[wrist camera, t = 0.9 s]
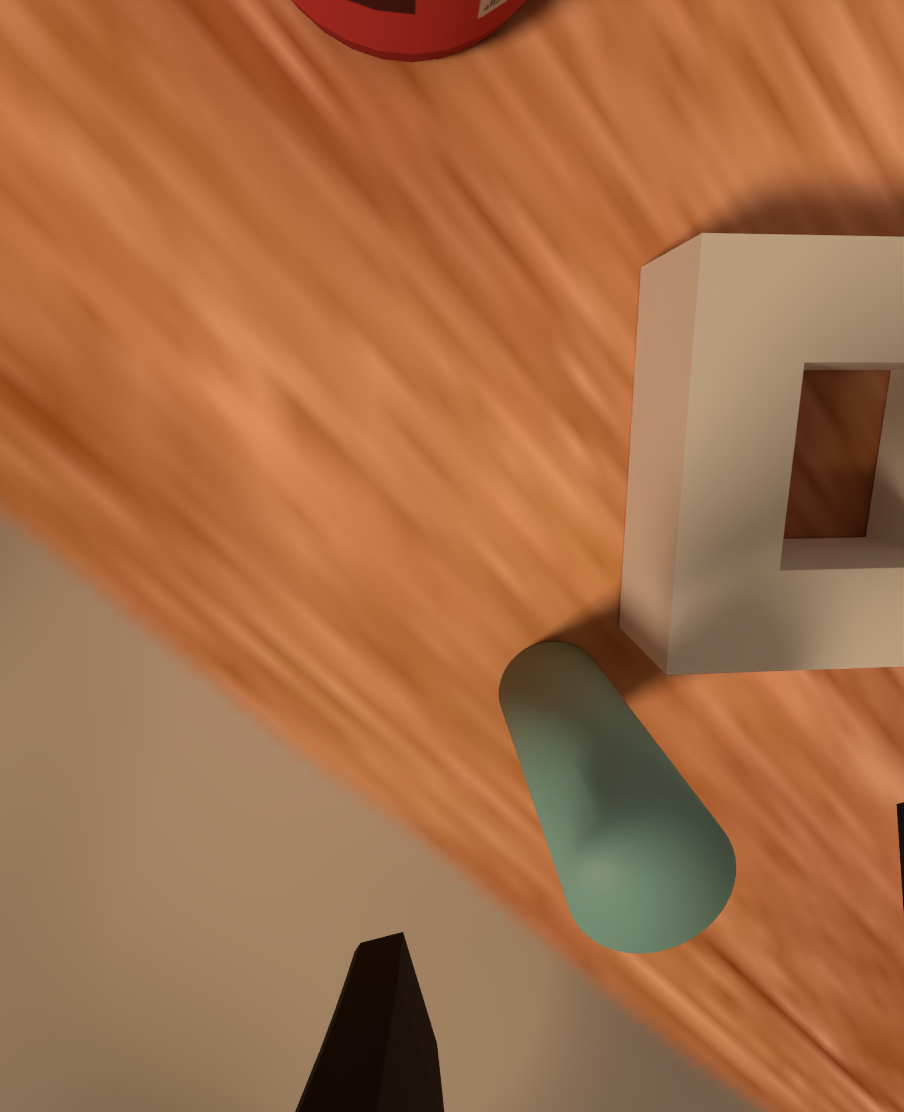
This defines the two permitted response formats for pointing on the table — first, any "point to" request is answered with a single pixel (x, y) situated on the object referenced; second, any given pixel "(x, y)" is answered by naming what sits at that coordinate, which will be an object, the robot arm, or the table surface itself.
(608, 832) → the peg
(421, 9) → the canned food
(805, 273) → the socket block
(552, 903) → the table surface
